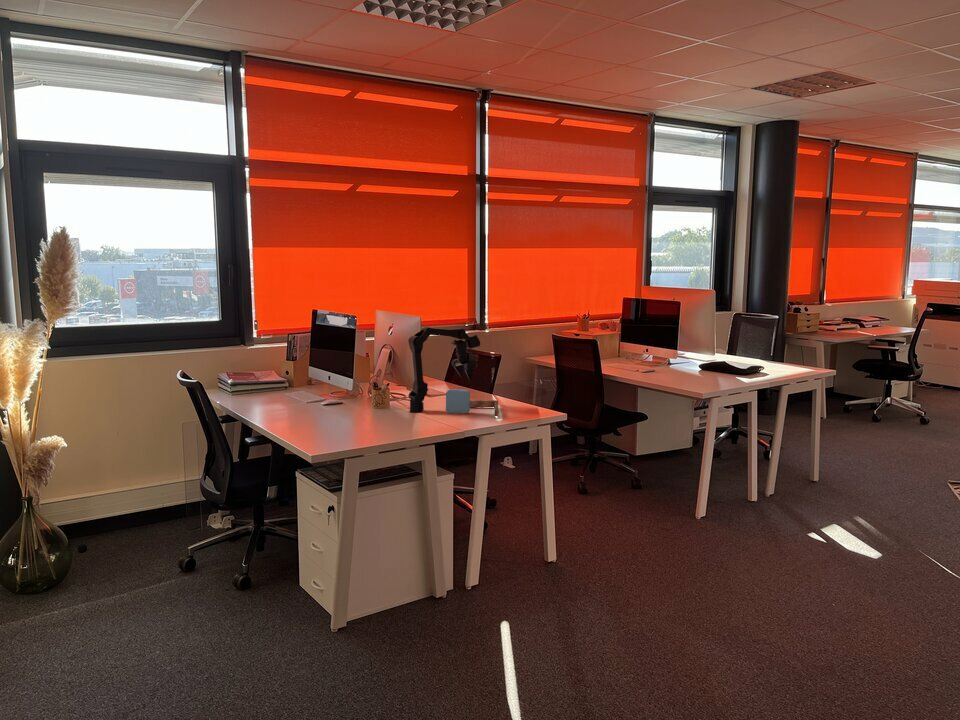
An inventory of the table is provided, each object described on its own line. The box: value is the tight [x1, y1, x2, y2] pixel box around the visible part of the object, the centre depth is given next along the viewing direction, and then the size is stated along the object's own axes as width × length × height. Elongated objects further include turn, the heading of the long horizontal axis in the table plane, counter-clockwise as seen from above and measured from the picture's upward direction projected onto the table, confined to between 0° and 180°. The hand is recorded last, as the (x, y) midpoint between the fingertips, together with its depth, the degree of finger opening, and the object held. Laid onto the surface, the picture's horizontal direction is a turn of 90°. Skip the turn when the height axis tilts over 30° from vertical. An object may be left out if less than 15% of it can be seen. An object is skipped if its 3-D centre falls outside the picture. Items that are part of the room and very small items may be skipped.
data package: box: [445, 388, 471, 414], centre depth 364 cm, size 12×4×12 cm, turn 81°
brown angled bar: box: [470, 399, 499, 417], centre depth 366 cm, size 20×25×4 cm
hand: (466, 378), depth 379 cm, fingers open, 9 cm apart
